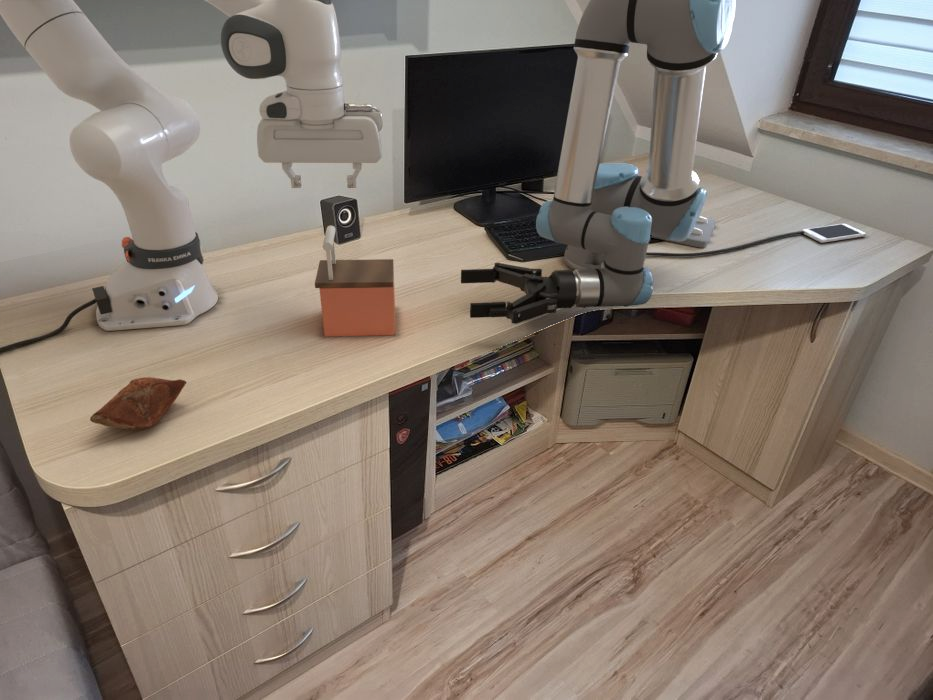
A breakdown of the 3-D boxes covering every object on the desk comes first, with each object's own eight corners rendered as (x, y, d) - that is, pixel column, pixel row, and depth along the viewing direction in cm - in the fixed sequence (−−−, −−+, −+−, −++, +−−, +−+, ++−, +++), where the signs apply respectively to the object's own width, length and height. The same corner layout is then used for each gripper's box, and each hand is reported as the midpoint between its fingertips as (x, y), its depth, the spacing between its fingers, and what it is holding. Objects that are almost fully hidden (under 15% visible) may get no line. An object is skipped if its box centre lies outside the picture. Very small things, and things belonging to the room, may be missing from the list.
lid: (315, 288, 116) (310, 244, 111) (320, 265, 123) (315, 223, 119) (393, 287, 117) (391, 243, 112) (393, 264, 125) (391, 222, 120)
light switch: (708, 237, 159) (646, 224, 164) (705, 248, 160) (644, 236, 166) (717, 213, 172) (660, 202, 178) (714, 224, 174) (658, 213, 179)
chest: (324, 336, 121) (319, 288, 116) (328, 311, 129) (324, 265, 124) (395, 334, 123) (393, 287, 117) (395, 309, 131) (393, 264, 125)
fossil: (192, 375, 104) (155, 351, 95) (202, 420, 100) (164, 400, 91) (121, 406, 104) (76, 386, 95) (128, 452, 100) (83, 436, 91)
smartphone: (800, 232, 171) (801, 229, 171) (843, 226, 176) (844, 222, 176) (821, 243, 166) (822, 239, 165) (865, 236, 171) (866, 232, 170)
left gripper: (382, 99, 106) (385, 180, 114) (256, 98, 104) (267, 180, 112) (381, 108, 101) (384, 193, 109) (248, 107, 99) (261, 193, 107)
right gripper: (588, 339, 117) (474, 344, 114) (554, 276, 138) (457, 280, 135) (594, 303, 113) (475, 308, 110) (558, 244, 133) (458, 247, 131)
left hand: (324, 187), depth 110 cm, fingers open, 8 cm apart
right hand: (465, 292), depth 123 cm, fingers open, 13 cm apart
